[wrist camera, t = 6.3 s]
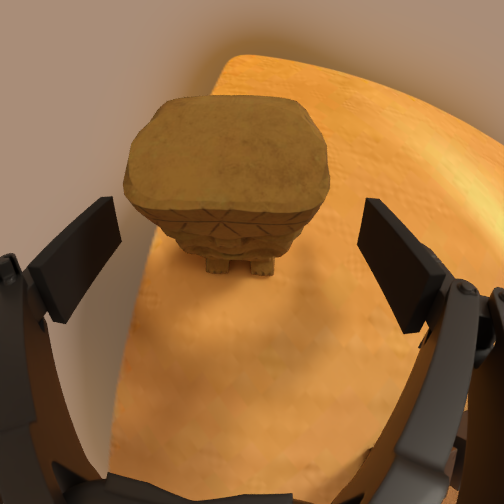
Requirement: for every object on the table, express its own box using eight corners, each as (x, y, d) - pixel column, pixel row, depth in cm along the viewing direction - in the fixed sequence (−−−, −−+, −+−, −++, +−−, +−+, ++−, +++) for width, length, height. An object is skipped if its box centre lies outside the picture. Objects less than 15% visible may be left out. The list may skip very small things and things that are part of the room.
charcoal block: (428, 470, 18) (457, 491, 12) (434, 425, 19) (470, 441, 13) (467, 450, 18) (498, 464, 12) (474, 406, 19) (509, 415, 14)
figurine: (196, 277, 23) (111, 208, 8) (203, 202, 24) (153, 71, 10) (282, 281, 23) (336, 215, 8) (284, 205, 24) (319, 71, 10)
